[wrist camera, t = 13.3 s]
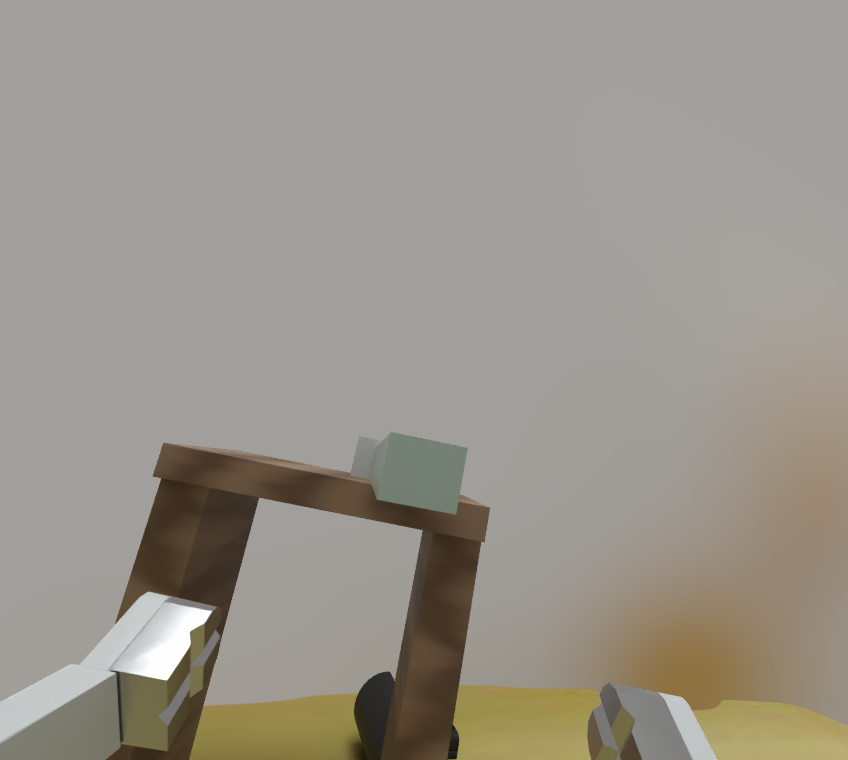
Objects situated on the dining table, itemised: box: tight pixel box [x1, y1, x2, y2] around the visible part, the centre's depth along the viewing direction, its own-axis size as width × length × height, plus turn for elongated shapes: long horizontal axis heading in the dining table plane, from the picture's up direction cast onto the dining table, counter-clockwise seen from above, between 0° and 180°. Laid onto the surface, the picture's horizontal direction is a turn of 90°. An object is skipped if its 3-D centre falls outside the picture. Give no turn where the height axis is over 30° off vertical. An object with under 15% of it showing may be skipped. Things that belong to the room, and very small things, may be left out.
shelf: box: [106, 443, 490, 760], centre depth 29 cm, size 20×12×26 cm, turn 92°
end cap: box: [354, 672, 459, 760], centre depth 39 cm, size 10×7×7 cm
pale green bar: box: [350, 432, 467, 515], centre depth 28 cm, size 6×24×3 cm, turn 8°
